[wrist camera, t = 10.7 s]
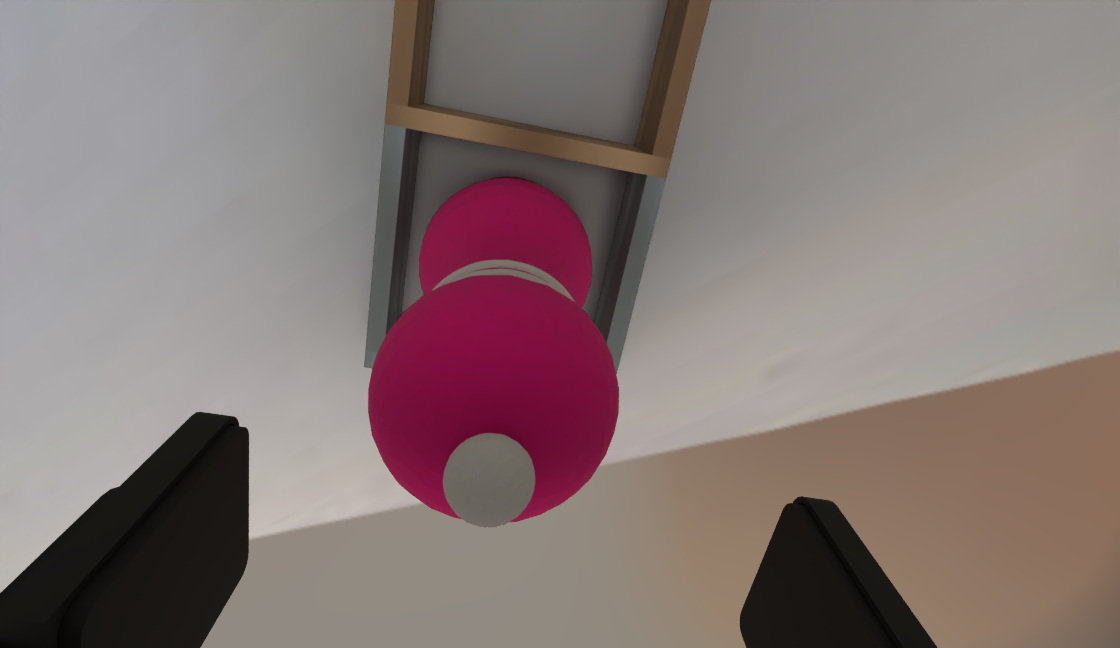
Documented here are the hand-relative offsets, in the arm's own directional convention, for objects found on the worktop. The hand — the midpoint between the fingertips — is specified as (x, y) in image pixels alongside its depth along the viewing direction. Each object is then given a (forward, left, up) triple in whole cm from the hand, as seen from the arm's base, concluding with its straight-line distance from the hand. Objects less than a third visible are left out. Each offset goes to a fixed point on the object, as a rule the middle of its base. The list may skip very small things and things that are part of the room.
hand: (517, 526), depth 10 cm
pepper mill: (+1, 0, -21) cm, 21 cm away
